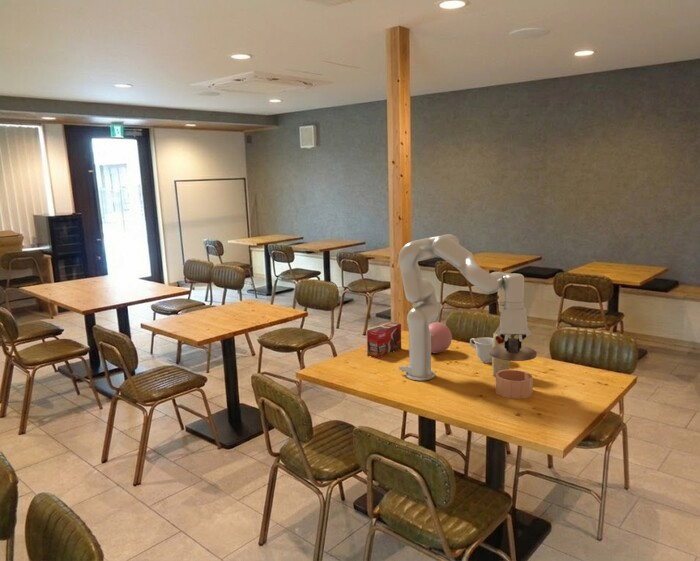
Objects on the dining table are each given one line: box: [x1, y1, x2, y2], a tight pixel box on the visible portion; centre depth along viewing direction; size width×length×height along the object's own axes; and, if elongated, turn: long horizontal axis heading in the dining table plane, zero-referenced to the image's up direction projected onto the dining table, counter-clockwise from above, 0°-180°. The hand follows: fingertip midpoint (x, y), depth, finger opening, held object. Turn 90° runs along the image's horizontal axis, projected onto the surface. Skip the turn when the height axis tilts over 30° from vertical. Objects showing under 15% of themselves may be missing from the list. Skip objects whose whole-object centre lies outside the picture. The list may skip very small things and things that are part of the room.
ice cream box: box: [366, 321, 402, 359], centre depth 274 cm, size 20×6×13 cm, turn 139°
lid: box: [489, 337, 538, 362], centre depth 216 cm, size 18×18×6 cm
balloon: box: [429, 321, 453, 354], centre depth 271 cm, size 15×20×15 cm
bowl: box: [494, 369, 534, 400], centre depth 218 cm, size 14×14×7 cm
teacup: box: [469, 336, 493, 364], centre depth 258 cm, size 12×15×10 cm
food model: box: [491, 331, 512, 377], centre depth 237 cm, size 10×7×20 cm
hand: (512, 349), depth 216 cm, fingers closed on lid, 3 cm apart
